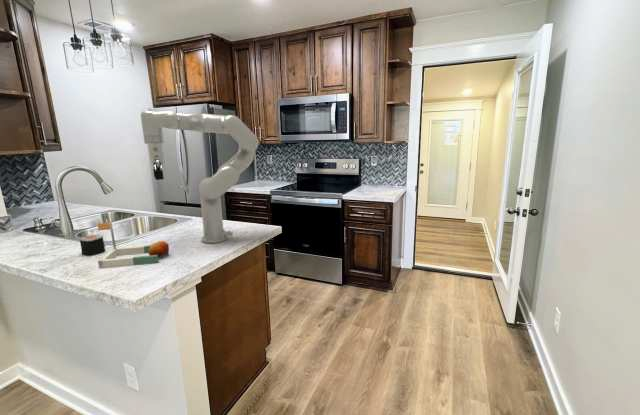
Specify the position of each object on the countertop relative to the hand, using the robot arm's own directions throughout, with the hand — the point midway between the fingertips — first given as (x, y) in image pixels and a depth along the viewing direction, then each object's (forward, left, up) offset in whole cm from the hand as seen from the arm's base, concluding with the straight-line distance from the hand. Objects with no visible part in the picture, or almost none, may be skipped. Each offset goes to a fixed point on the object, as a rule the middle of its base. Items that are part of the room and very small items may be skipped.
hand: (158, 178), depth 138 cm
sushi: (+31, +1, -33) cm, 45 cm away
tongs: (+12, +14, -33) cm, 37 cm away
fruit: (0, +14, -33) cm, 36 cm away
